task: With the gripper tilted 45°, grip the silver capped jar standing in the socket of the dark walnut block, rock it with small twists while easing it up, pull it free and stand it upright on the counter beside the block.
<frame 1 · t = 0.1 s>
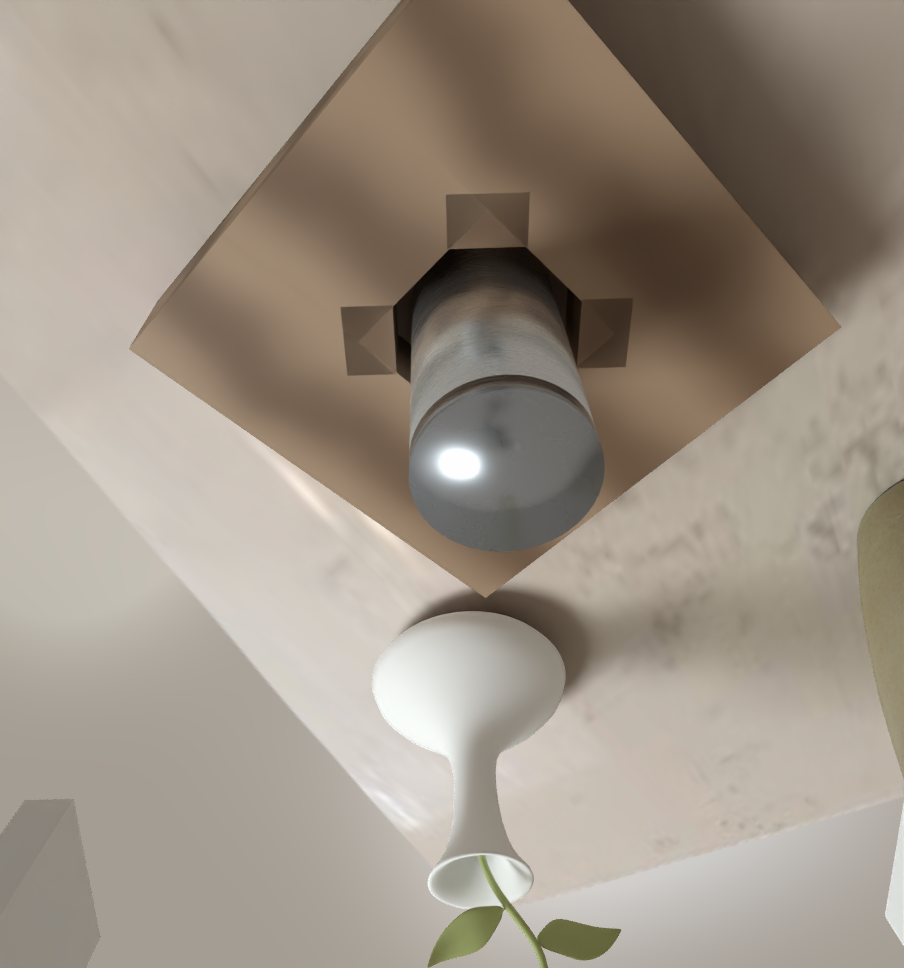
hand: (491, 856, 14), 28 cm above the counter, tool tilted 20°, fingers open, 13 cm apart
silver capped jar: (481, 301, 36), point 1 cm above the counter, touching walnut socket block
flower in vase: (480, 662, 52), on the counter
walnut socket block: (480, 291, 37), on the counter
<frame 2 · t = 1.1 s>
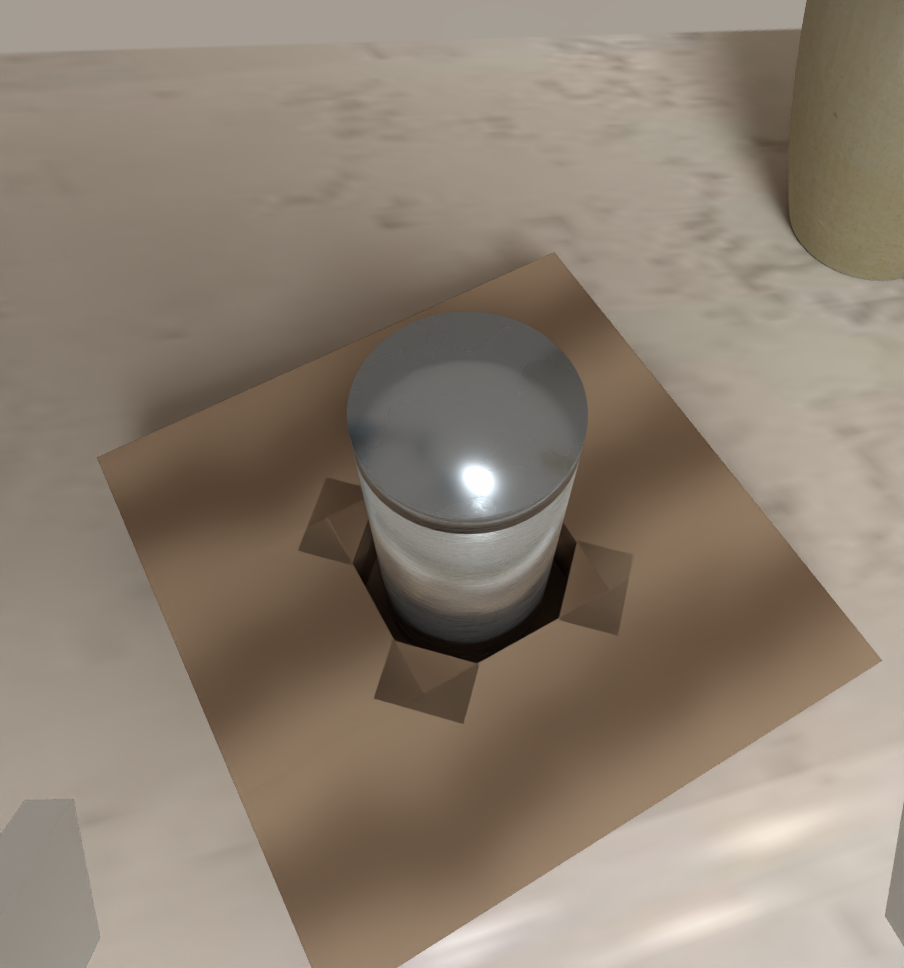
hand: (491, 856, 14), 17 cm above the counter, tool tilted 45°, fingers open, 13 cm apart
silver capped jar: (464, 587, 33), point 1 cm above the counter, touching walnut socket block
walnut socket block: (464, 595, 34), on the counter
plant pot: (865, 228, 42), on the counter
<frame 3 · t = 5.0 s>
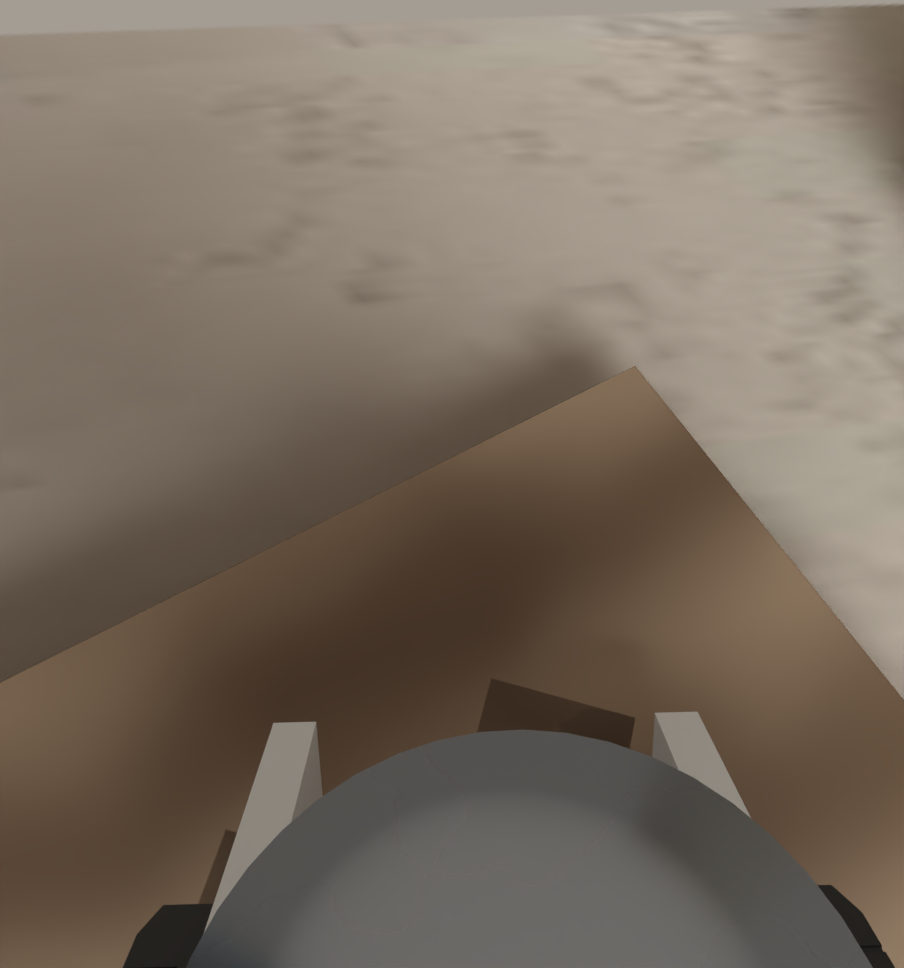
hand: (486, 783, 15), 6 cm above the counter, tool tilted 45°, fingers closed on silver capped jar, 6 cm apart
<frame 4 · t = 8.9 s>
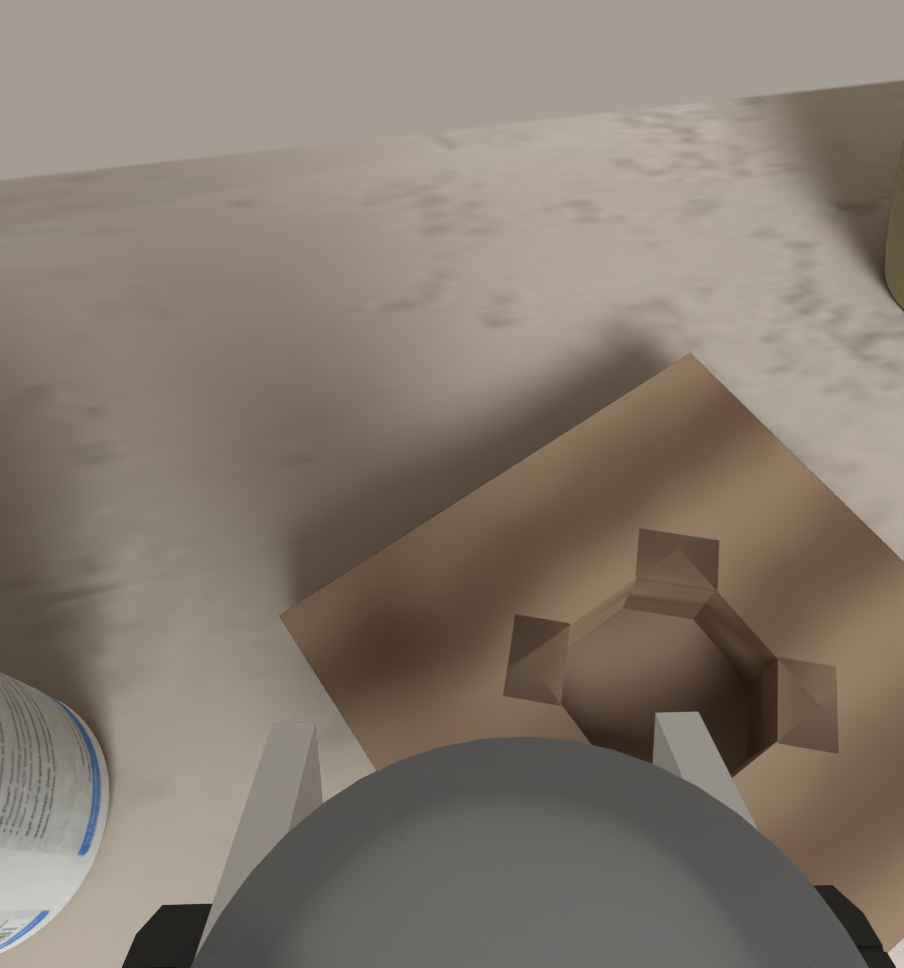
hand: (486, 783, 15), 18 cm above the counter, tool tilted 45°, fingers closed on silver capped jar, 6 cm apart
walnut socket block: (646, 709, 34), on the counter
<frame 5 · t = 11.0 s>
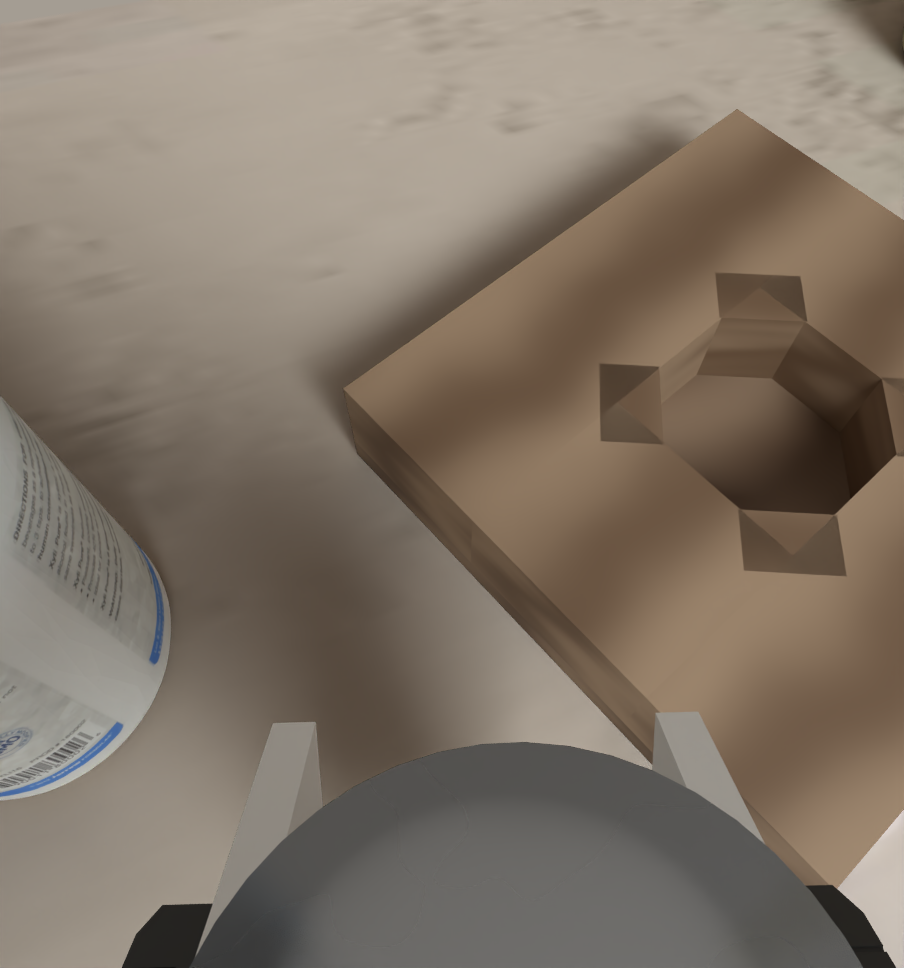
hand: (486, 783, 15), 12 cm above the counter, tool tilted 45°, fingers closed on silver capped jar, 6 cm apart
supplement tub: (41, 660, 29), on the counter
walnut socket block: (734, 473, 32), on the counter
when the fingers open (5 cm above the counter, at t = 12.9 s): silver capped jar stays where it is, on the counter.
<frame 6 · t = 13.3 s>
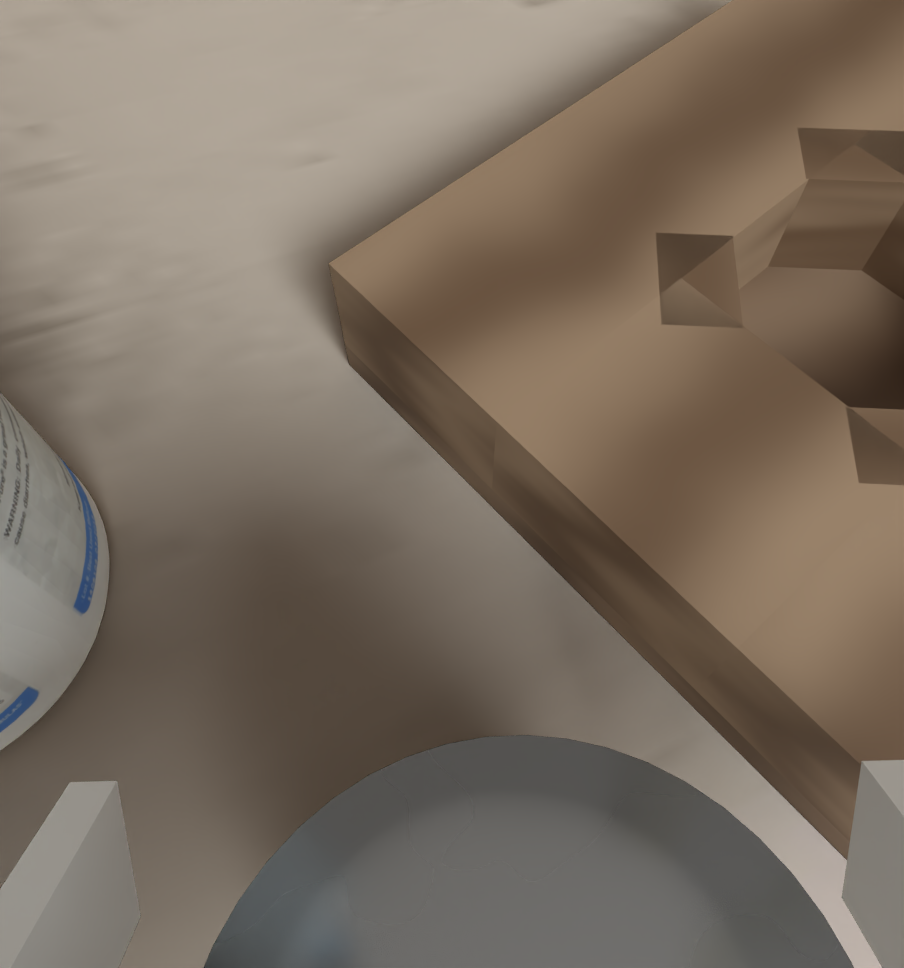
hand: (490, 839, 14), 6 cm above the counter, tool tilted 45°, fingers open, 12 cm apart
walnut socket block: (818, 386, 25), on the counter
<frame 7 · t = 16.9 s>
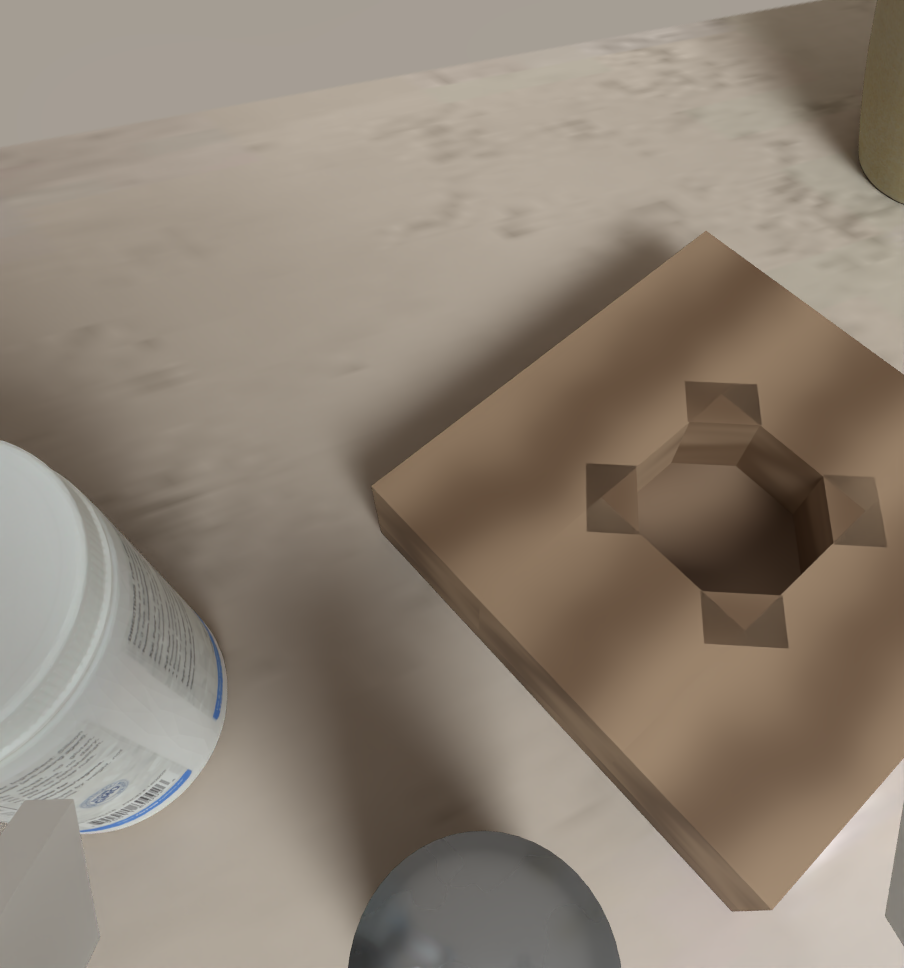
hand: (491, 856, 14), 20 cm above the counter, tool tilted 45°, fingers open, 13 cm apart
silver capped jar: (474, 957, 30), on the counter
supplement tub: (117, 713, 34), on the counter
walnut socket block: (703, 549, 37), on the counter
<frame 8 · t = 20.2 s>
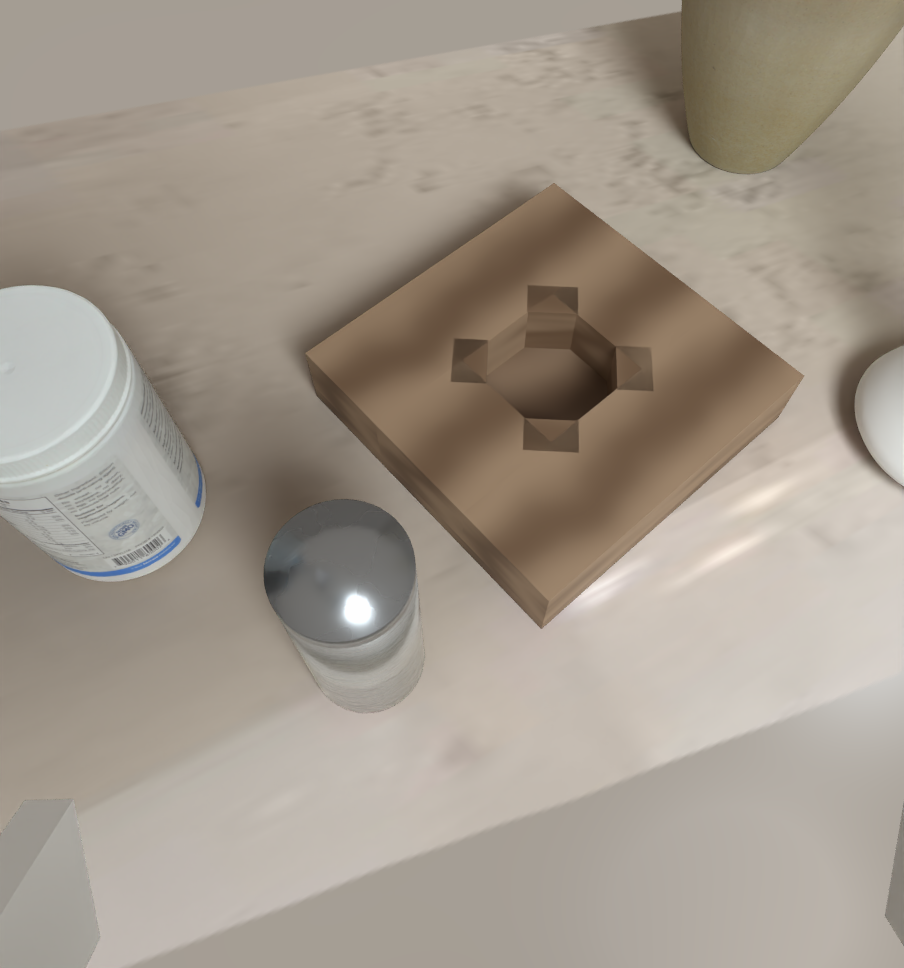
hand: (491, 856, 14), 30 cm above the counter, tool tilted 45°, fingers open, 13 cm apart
silver capped jar: (368, 656, 45), on the counter
supplement tub: (129, 512, 50), on the counter
walnut socket block: (545, 406, 52), on the counter
plant pot: (740, 142, 63), on the counter
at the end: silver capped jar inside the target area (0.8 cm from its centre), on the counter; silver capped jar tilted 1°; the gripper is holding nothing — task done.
